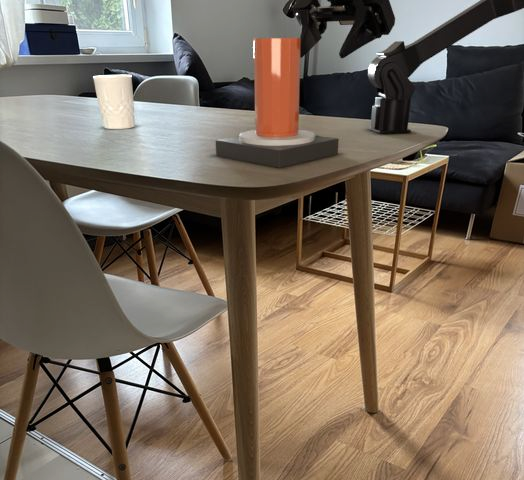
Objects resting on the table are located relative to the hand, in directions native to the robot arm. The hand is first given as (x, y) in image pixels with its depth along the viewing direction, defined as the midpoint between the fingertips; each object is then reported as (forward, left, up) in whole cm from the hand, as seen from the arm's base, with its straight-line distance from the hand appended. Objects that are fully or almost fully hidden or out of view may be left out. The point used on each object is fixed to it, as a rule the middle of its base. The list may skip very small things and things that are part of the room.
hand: (319, 56), depth 88 cm
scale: (+10, +13, -14) cm, 21 cm away
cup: (+10, +13, -10) cm, 19 cm away
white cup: (+38, -27, -14) cm, 48 cm away
